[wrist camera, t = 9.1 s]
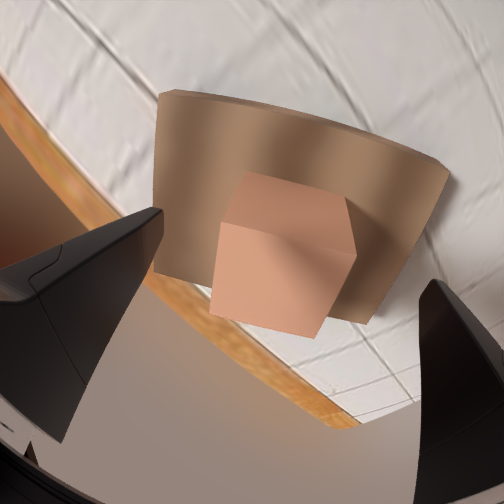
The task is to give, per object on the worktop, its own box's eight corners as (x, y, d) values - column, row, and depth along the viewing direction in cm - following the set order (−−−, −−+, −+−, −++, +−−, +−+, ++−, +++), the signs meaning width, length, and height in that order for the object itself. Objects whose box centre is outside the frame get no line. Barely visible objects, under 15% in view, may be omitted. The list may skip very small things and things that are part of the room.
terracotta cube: (344, 196, 17) (356, 256, 13) (315, 271, 21) (314, 338, 16) (247, 171, 17) (221, 221, 13) (232, 250, 21) (209, 313, 16)
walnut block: (433, 156, 17) (450, 172, 15) (363, 299, 26) (366, 324, 23) (178, 88, 18) (158, 93, 15) (167, 250, 26) (154, 271, 24)
